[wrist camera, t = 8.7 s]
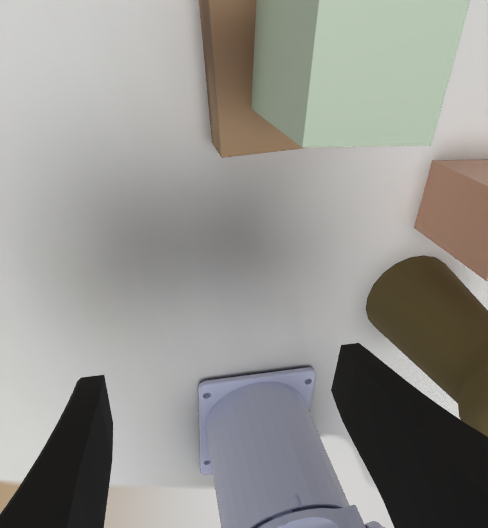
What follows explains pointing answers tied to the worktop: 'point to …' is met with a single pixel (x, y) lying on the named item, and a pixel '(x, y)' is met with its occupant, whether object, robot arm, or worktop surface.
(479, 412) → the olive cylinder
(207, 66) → the walnut board
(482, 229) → the terracotta block
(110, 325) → the worktop surface
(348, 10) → the sage block
